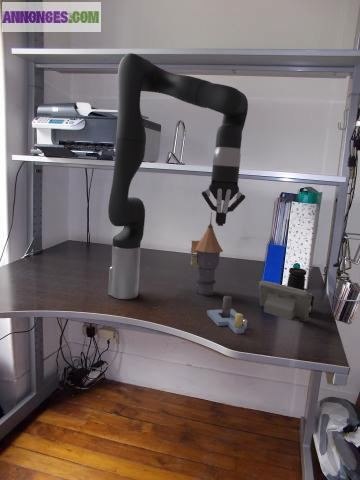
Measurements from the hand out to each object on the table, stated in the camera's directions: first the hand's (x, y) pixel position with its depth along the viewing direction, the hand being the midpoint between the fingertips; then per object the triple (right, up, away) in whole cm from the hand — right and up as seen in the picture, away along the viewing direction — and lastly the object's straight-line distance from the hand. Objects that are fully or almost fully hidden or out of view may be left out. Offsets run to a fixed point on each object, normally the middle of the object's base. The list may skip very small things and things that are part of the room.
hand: (220, 225), depth 107 cm
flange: (+3, -28, -1) cm, 28 cm away
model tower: (-4, -24, +23) cm, 34 cm away
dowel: (+6, -29, -4) cm, 30 cm away
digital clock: (+20, -29, +10) cm, 37 cm away
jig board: (-1, -29, +1) cm, 29 cm away
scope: (+27, -28, +16) cm, 42 cm away
